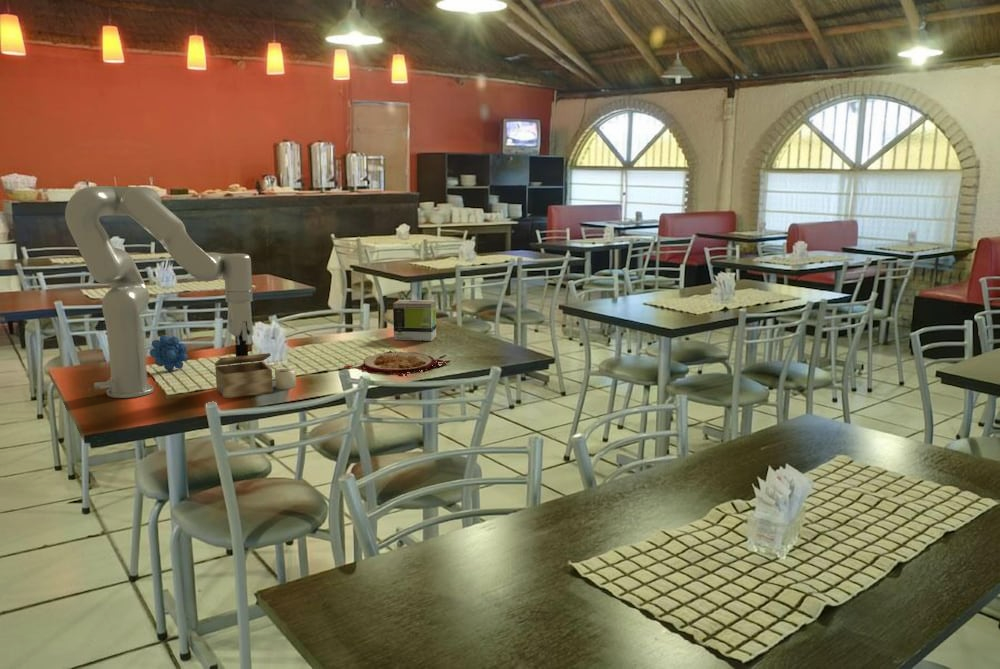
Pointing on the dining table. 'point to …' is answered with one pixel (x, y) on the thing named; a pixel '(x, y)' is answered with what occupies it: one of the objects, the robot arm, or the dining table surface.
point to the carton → (243, 379)
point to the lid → (242, 359)
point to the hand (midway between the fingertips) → (242, 357)
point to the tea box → (414, 320)
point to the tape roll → (285, 378)
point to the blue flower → (169, 352)
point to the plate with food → (398, 362)
